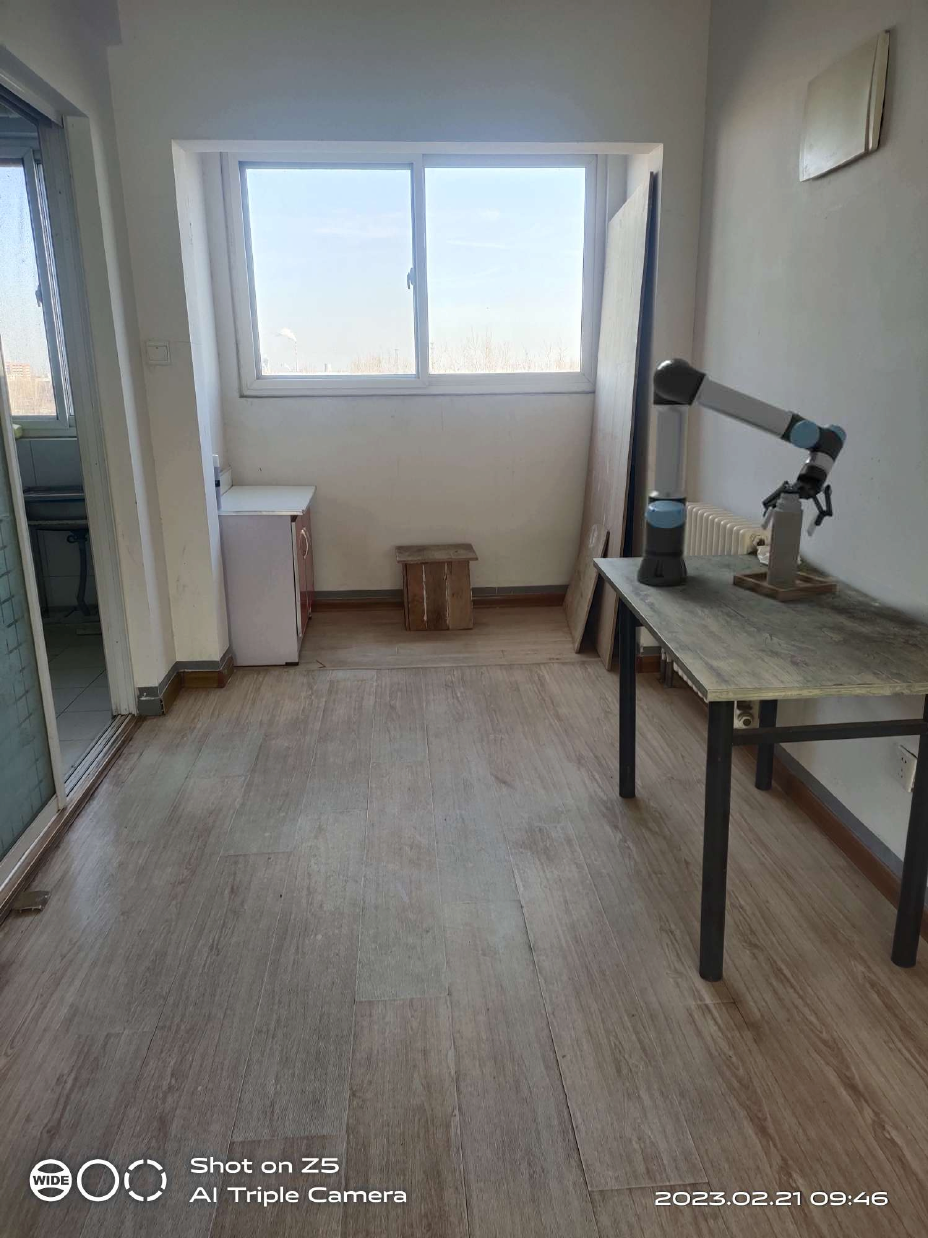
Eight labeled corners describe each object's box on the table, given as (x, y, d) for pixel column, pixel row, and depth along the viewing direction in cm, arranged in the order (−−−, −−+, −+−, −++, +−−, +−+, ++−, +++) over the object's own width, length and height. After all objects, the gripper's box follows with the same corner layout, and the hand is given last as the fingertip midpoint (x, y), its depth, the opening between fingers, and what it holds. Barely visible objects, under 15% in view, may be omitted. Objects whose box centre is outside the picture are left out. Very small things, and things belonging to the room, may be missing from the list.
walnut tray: (732, 584, 249) (733, 574, 248) (785, 577, 256) (786, 568, 255) (780, 601, 231) (781, 591, 231) (835, 593, 239) (836, 583, 238)
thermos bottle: (763, 586, 243) (772, 490, 234) (769, 580, 249) (778, 486, 241) (792, 590, 239) (802, 492, 231) (797, 583, 245) (808, 488, 237)
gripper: (861, 484, 237) (832, 544, 231) (777, 476, 254) (748, 532, 248) (856, 467, 231) (826, 528, 226) (770, 460, 249) (741, 517, 243)
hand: (785, 530), depth 237 cm, fingers open, 13 cm apart
